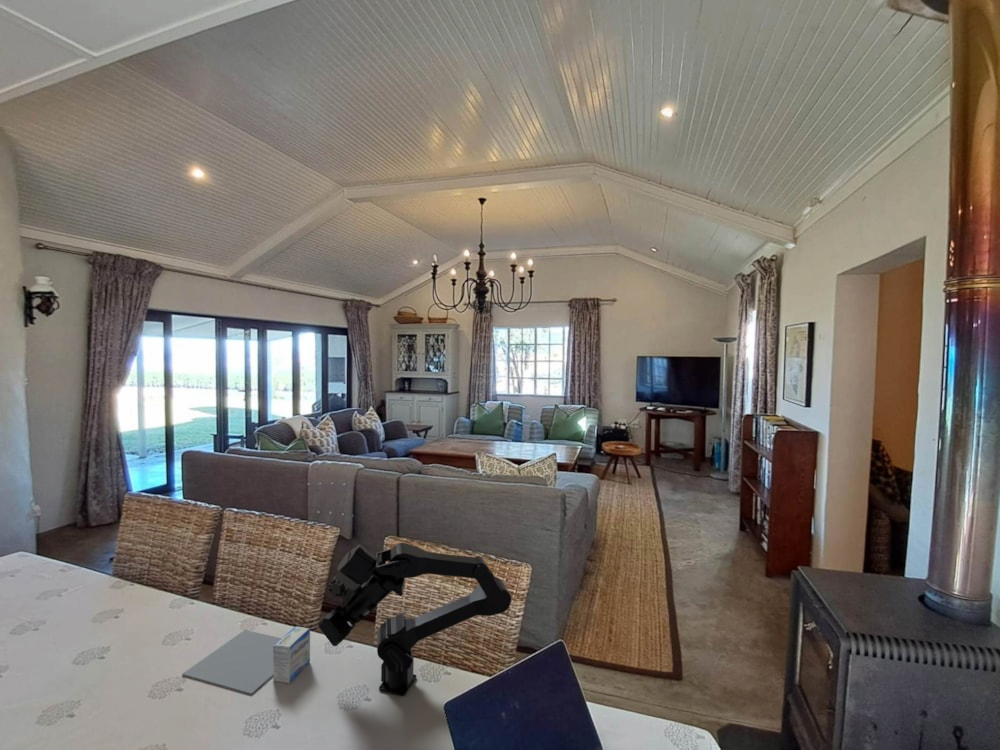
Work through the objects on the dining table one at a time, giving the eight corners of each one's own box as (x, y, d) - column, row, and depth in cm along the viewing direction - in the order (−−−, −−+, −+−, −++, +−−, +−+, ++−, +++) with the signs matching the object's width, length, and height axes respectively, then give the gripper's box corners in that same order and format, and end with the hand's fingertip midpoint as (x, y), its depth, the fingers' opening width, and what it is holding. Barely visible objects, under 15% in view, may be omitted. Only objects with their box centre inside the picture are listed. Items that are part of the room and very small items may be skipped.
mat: (307, 645, 117) (307, 644, 117) (251, 695, 100) (251, 693, 100) (245, 631, 123) (245, 629, 123) (182, 675, 105) (182, 673, 105)
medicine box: (289, 684, 103) (289, 647, 103) (272, 681, 104) (272, 644, 104) (310, 662, 111) (310, 627, 111) (294, 659, 112) (294, 625, 112)
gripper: (372, 547, 113) (333, 583, 117) (326, 583, 95) (282, 625, 98) (400, 582, 112) (360, 618, 115) (359, 625, 94) (313, 667, 97)
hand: (331, 630), depth 106 cm, fingers closed
